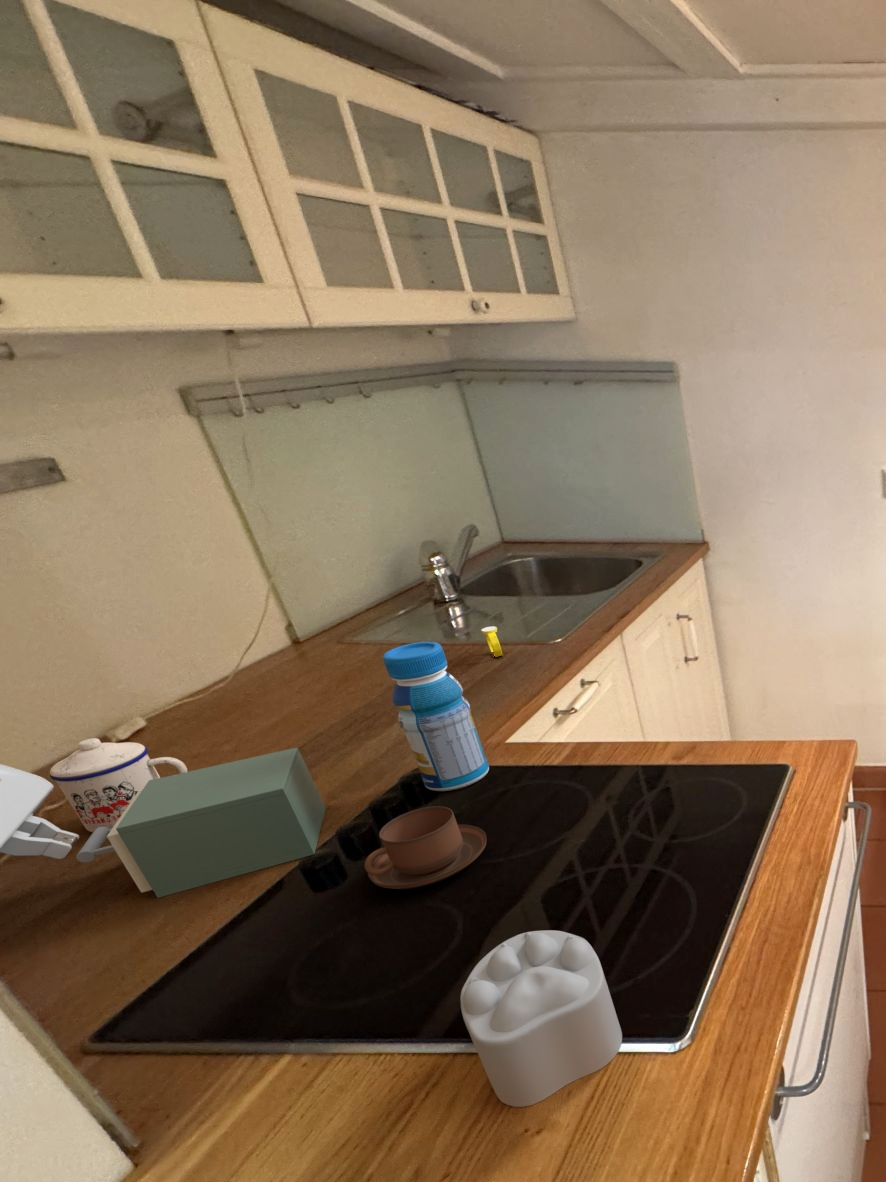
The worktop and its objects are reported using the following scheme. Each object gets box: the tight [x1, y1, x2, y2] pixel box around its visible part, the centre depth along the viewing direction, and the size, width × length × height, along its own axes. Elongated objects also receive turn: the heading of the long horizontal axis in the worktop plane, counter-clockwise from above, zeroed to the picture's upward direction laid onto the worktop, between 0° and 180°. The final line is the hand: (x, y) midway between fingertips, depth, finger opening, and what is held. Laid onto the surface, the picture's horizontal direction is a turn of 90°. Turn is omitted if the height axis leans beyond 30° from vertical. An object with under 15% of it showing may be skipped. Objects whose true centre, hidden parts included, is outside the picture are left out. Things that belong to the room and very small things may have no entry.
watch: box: [480, 625, 503, 657], centre depth 155 cm, size 6×3×6 cm, turn 40°
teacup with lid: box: [49, 737, 189, 833], centre depth 103 cm, size 12×9×12 cm
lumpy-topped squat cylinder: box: [459, 929, 623, 1108], centre depth 66 cm, size 10×13×9 cm
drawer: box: [75, 791, 153, 894], centre depth 93 cm, size 18×11×8 cm, turn 122°
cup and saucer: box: [364, 805, 487, 890], centre depth 90 cm, size 12×12×6 cm
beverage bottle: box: [382, 641, 490, 792], centre depth 107 cm, size 8×8×20 cm
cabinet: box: [116, 747, 327, 899], centre depth 94 cm, size 15×13×10 cm
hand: (72, 847), depth 88 cm, fingers closed
